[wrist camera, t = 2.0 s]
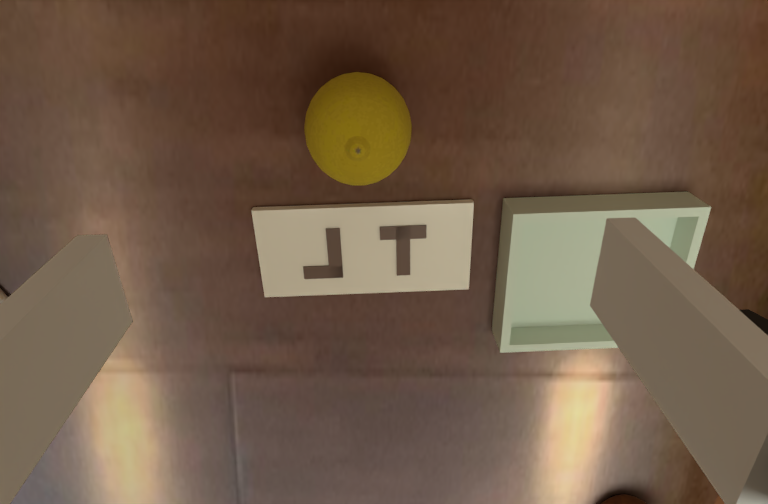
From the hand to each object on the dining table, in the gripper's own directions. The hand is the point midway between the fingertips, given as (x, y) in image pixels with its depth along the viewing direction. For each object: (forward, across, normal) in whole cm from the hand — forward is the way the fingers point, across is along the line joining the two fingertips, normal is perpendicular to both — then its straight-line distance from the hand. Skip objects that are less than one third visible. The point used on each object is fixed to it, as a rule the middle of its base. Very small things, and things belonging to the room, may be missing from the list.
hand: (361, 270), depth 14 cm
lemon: (+19, 0, 0) cm, 19 cm away
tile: (+19, 0, +9) cm, 21 cm away
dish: (+19, -15, +11) cm, 26 cm away
